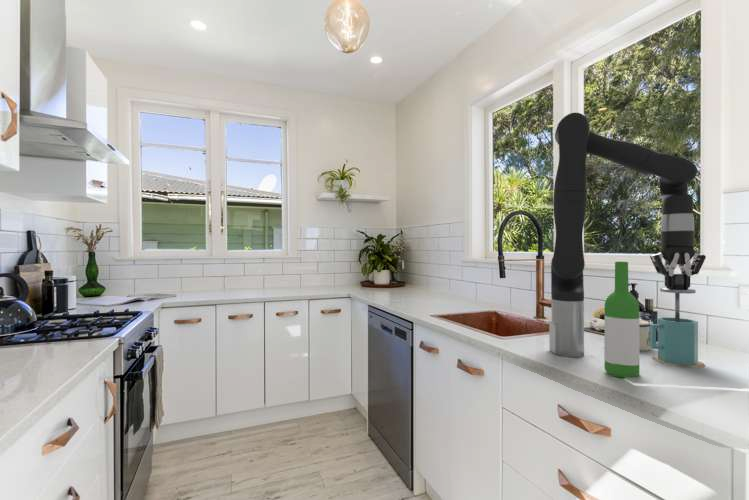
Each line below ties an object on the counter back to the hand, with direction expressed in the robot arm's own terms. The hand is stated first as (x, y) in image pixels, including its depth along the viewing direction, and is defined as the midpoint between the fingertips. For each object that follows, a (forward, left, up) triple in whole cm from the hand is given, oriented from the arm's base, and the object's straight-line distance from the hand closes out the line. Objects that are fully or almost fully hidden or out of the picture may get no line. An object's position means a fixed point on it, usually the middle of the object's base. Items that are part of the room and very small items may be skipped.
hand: (677, 288), depth 107 cm
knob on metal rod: (0, 0, -11) cm, 11 cm away
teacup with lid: (-4, +17, -22) cm, 28 cm away
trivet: (0, 0, -22) cm, 22 cm away
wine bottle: (-21, -13, -22) cm, 33 cm away
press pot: (-1, 0, -21) cm, 21 cm away
